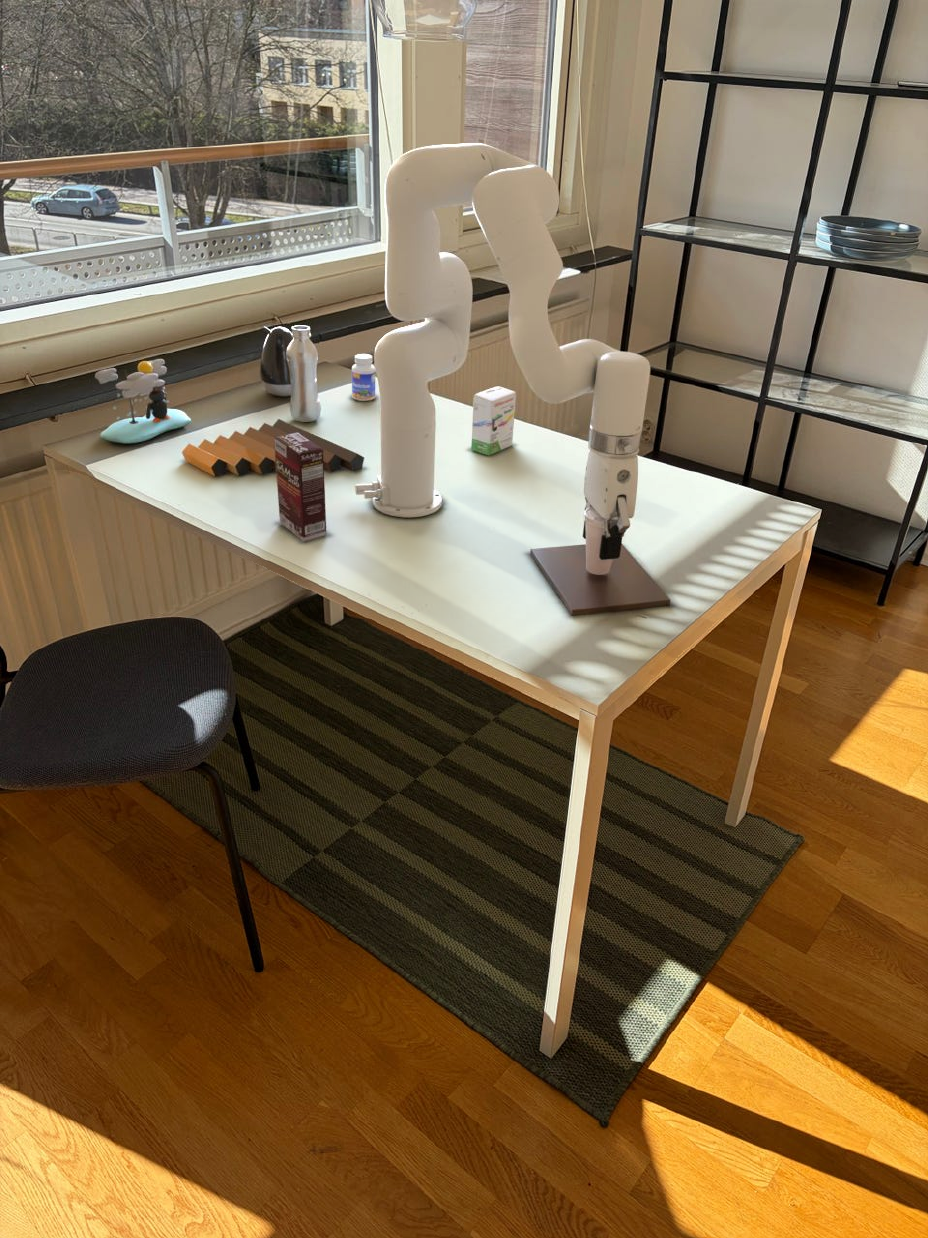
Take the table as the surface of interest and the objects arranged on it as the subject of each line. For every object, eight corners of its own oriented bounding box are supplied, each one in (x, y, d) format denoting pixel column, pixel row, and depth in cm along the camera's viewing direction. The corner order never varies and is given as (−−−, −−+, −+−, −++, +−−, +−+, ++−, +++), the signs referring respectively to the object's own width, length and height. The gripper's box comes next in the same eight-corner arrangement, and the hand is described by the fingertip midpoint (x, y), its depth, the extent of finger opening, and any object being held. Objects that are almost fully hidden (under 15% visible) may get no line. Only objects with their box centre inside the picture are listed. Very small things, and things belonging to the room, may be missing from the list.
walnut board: (571, 615, 143) (572, 610, 142) (530, 554, 159) (530, 548, 159) (669, 605, 147) (670, 599, 146) (619, 546, 163) (619, 541, 162)
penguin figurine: (169, 413, 209) (161, 344, 201) (202, 425, 204) (195, 354, 196) (90, 438, 195) (78, 364, 187) (123, 451, 190) (112, 376, 182)
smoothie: (579, 557, 155) (589, 477, 148) (619, 562, 154) (630, 482, 147) (575, 575, 150) (585, 493, 143) (616, 581, 149) (628, 498, 142)
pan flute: (364, 467, 188) (286, 432, 202) (364, 451, 186) (285, 416, 200) (259, 502, 172) (182, 462, 186) (258, 485, 170) (180, 445, 185)
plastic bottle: (319, 425, 206) (315, 332, 196) (287, 424, 206) (282, 331, 196) (323, 415, 212) (319, 324, 201) (292, 414, 212) (287, 322, 201)
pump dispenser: (282, 382, 230) (278, 318, 222) (314, 392, 225) (311, 326, 217) (251, 393, 223) (246, 327, 215) (283, 403, 218) (279, 335, 210)
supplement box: (278, 523, 165) (272, 436, 157) (302, 517, 168) (298, 430, 159) (302, 543, 159) (298, 453, 151) (328, 536, 162) (324, 447, 154)
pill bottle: (349, 400, 221) (348, 358, 216) (355, 392, 226) (354, 351, 221) (372, 402, 220) (371, 360, 215) (377, 395, 225) (377, 353, 220)
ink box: (488, 456, 195) (492, 400, 189) (469, 450, 198) (472, 394, 192) (513, 445, 201) (517, 390, 195) (494, 439, 204) (498, 385, 197)
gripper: (662, 460, 134) (645, 572, 144) (615, 417, 149) (602, 522, 158) (613, 463, 133) (598, 576, 142) (570, 420, 147) (559, 525, 156)
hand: (600, 546), depth 150 cm, fingers closed on smoothie, 6 cm apart
